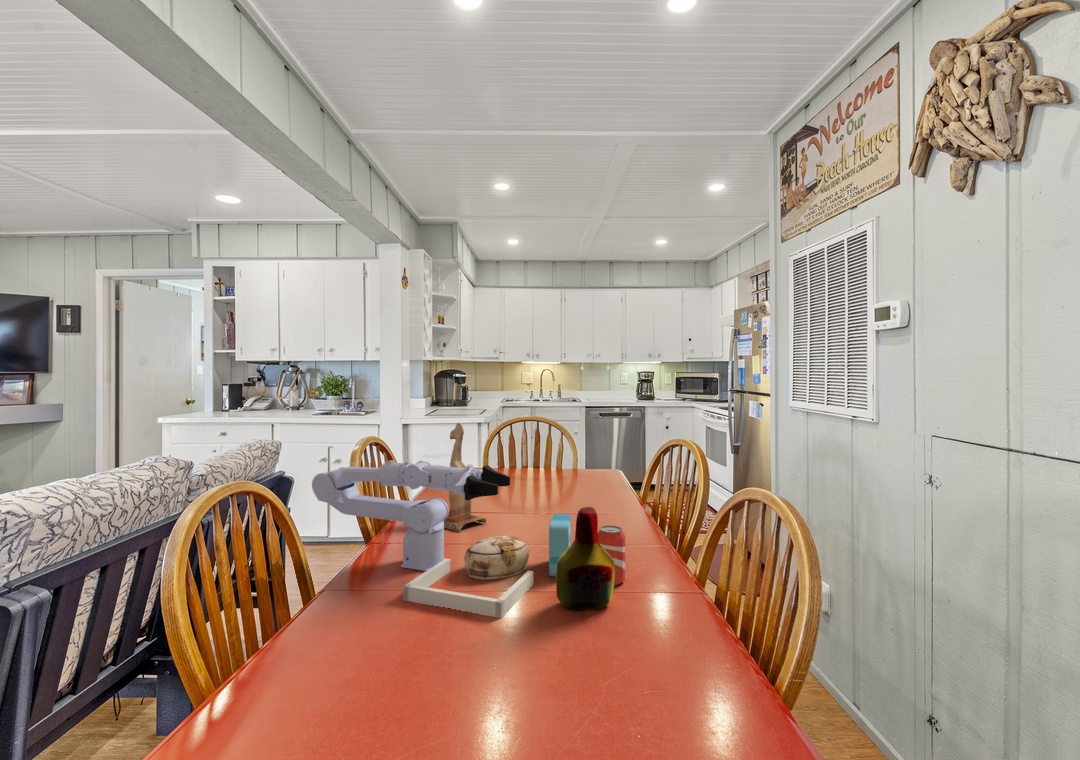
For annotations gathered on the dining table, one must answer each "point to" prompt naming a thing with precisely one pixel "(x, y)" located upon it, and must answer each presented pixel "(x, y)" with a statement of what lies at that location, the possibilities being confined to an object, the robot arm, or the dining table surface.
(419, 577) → the display bay
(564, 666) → the dining table surface
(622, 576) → the beverage can
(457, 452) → the bird sculpture
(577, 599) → the bottle
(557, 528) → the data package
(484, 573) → the trinket box
